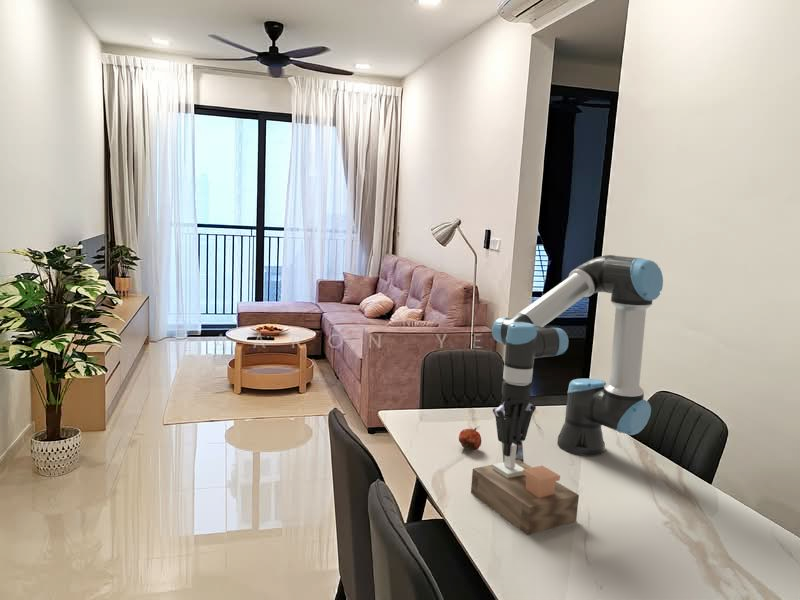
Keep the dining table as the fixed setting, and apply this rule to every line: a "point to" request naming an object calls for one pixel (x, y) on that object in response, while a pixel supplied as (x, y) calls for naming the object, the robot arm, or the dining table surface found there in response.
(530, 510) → the brown boxy piece
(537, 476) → the terracotta key
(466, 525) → the dining table surface
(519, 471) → the white block
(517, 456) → the beverage can
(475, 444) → the red round fruit
